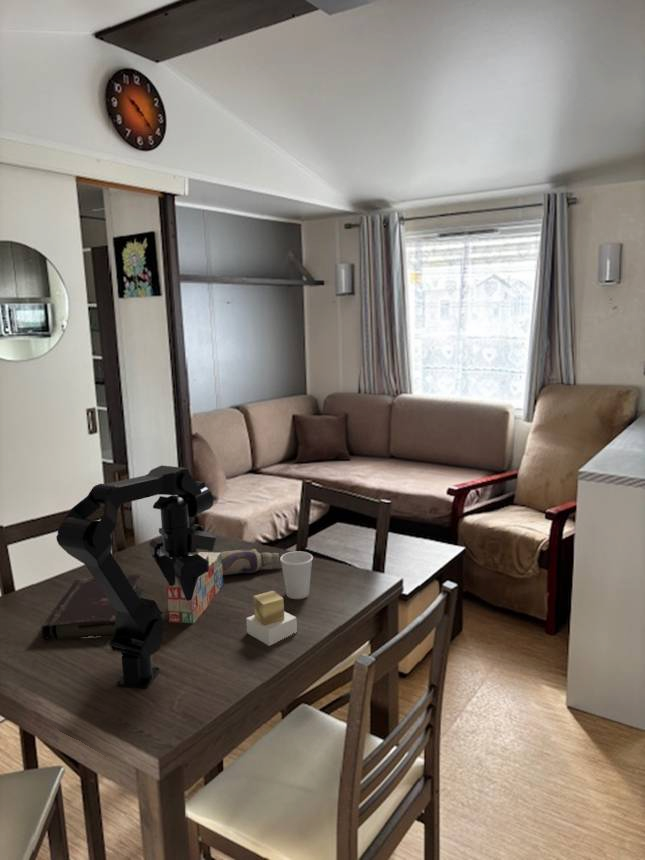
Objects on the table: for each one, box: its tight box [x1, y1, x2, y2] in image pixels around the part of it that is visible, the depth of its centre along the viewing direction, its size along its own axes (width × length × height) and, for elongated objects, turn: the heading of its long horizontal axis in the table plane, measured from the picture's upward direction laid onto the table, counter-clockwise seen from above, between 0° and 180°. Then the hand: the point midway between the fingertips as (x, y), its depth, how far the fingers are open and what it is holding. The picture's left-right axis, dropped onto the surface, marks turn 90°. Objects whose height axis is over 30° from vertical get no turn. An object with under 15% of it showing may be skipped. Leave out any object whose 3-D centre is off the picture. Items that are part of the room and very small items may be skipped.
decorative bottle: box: [193, 548, 284, 576], centre depth 177 cm, size 26×8×7 cm, turn 103°
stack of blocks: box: [165, 551, 224, 625], centre depth 159 cm, size 21×6×12 cm, turn 170°
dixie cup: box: [279, 550, 314, 600], centre depth 162 cm, size 8×8×10 cm
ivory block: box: [246, 611, 298, 647], centre depth 144 cm, size 8×8×4 cm
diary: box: [39, 573, 144, 642], centre depth 155 cm, size 19×25×5 cm
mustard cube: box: [253, 590, 285, 625], centre depth 143 cm, size 5×5×5 cm
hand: (180, 592), depth 138 cm, fingers open, 9 cm apart
